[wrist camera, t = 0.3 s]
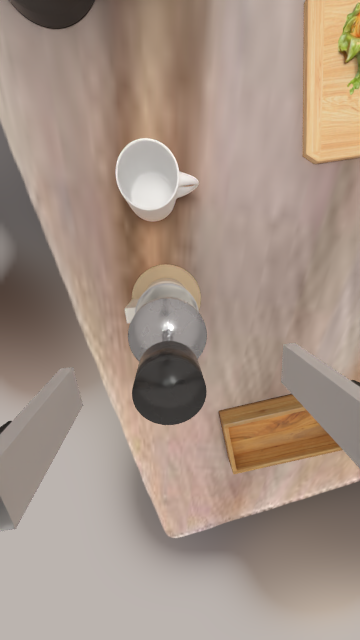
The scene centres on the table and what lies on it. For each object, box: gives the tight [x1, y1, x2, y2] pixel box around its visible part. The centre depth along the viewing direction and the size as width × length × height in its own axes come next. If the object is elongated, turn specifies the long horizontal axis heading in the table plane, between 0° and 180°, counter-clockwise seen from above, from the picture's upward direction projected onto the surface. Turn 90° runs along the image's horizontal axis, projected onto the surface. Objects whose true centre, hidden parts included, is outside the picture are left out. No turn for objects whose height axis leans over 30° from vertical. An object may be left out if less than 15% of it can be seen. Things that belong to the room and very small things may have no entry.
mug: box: [115, 138, 199, 222], centre depth 35 cm, size 9×12×11 cm
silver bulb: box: [128, 297, 207, 425], centre depth 19 cm, size 8×8×11 cm
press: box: [125, 264, 201, 323], centre depth 39 cm, size 14×14×13 cm
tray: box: [219, 394, 343, 474], centre depth 53 cm, size 31×15×6 cm, turn 103°
